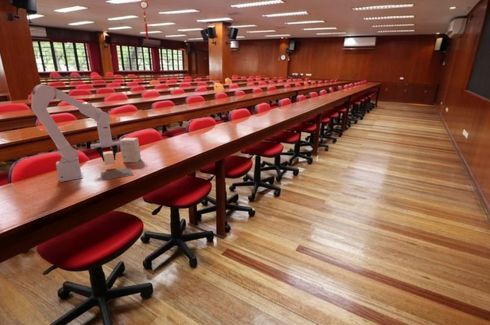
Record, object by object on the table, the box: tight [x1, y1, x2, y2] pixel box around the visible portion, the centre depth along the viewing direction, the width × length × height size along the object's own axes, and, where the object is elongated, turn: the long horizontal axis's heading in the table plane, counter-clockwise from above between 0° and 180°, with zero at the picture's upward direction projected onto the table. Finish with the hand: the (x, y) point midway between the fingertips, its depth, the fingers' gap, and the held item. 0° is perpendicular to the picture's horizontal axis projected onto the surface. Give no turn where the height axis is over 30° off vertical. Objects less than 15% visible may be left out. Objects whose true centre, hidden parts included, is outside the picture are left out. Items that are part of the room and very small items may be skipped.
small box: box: [119, 137, 142, 163], centre depth 156 cm, size 8×6×13 cm
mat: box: [100, 167, 134, 181], centre depth 138 cm, size 14×12×1 cm
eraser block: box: [102, 150, 116, 166], centre depth 143 cm, size 4×6×6 cm
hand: (109, 160), depth 144 cm, fingers closed on eraser block, 4 cm apart
